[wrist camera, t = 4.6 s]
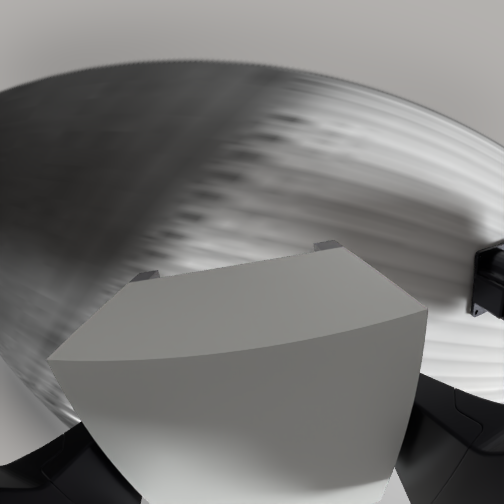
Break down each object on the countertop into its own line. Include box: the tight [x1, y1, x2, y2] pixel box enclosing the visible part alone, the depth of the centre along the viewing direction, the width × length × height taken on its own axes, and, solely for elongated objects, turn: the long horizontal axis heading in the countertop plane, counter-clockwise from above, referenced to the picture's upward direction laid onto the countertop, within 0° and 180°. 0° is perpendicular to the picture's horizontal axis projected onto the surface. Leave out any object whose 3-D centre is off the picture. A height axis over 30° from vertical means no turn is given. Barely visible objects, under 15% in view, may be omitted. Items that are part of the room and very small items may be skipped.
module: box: [47, 240, 428, 504], centre depth 7 cm, size 7×7×6 cm
